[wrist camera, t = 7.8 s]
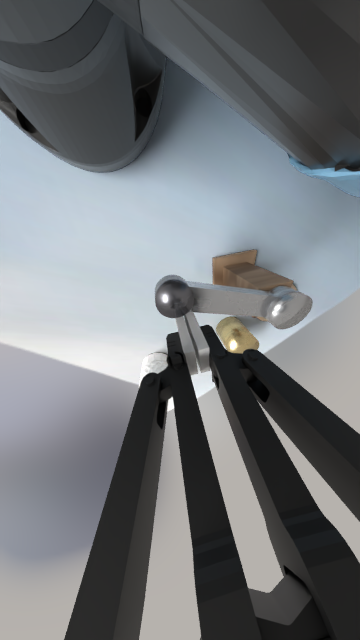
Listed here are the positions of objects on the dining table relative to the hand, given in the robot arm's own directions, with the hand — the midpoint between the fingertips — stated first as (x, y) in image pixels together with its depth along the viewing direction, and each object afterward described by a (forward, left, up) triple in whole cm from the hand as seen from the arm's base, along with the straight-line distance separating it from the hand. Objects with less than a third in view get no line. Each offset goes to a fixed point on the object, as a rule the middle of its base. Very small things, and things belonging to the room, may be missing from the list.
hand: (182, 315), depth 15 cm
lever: (-1, +5, +1) cm, 5 cm away
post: (+1, +11, -10) cm, 15 cm away
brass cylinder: (+13, +11, -10) cm, 19 cm away
